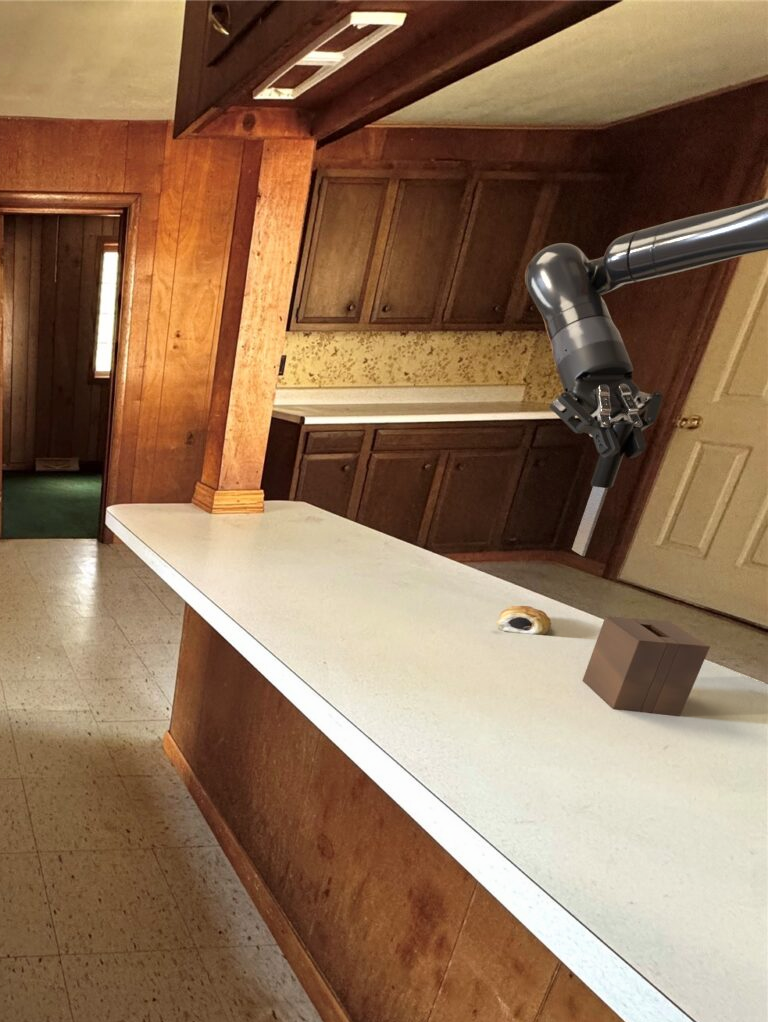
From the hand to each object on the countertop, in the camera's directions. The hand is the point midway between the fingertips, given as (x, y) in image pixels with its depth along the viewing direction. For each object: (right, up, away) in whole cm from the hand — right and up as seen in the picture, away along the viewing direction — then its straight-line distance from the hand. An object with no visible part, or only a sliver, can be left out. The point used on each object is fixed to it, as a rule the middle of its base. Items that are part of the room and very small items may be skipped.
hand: (624, 454), depth 92 cm
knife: (+1, -13, +8) cm, 15 cm away
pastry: (+3, -25, +21) cm, 33 cm away
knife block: (-2, -35, -2) cm, 35 cm away
